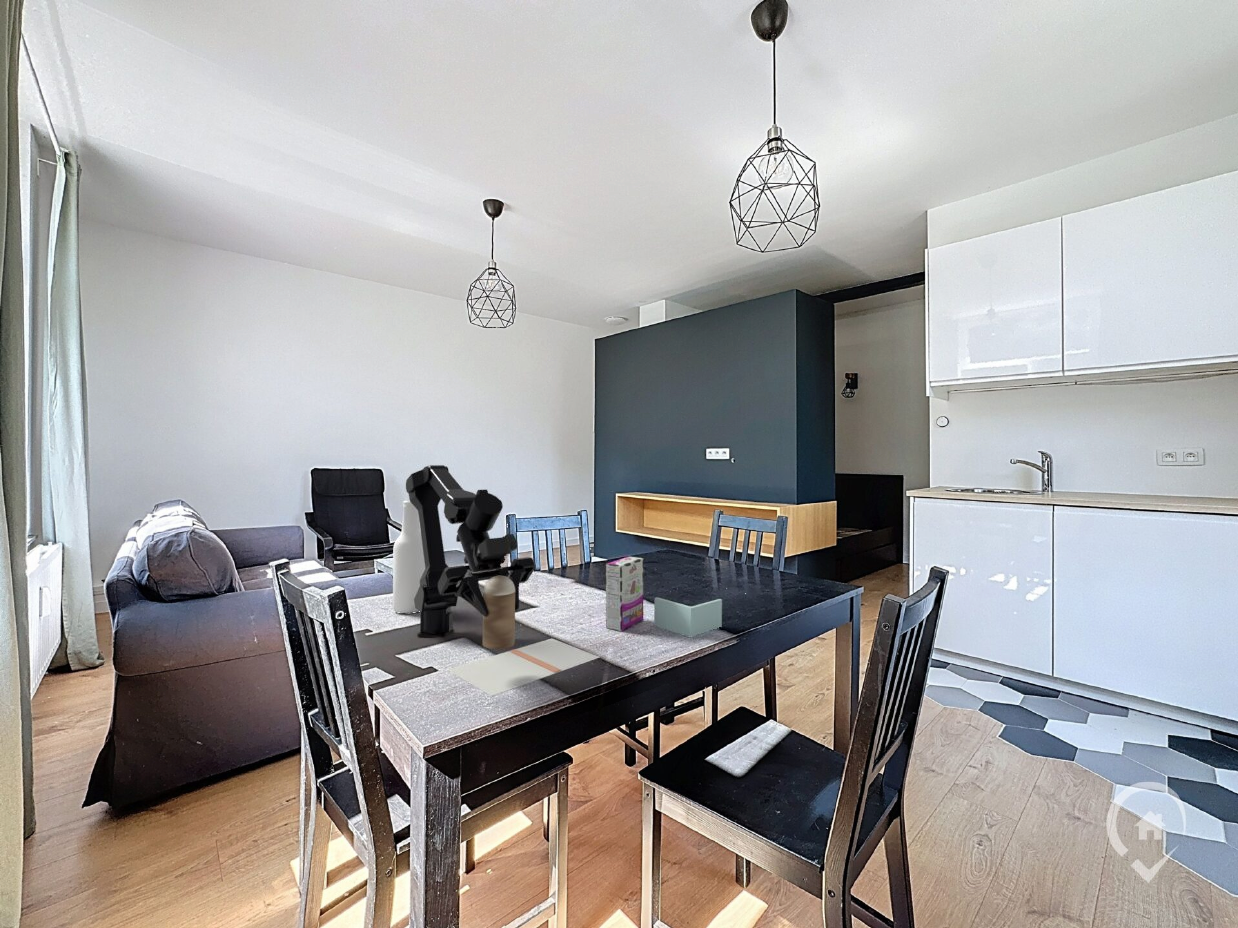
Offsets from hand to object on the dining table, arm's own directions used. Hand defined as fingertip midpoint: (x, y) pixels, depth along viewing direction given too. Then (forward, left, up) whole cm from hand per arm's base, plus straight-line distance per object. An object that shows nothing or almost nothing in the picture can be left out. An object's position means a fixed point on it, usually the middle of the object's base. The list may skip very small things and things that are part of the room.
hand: (502, 612), depth 102 cm
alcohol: (-37, +44, -13) cm, 59 cm away
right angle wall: (+38, +36, -14) cm, 54 cm away
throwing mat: (+3, +7, -13) cm, 15 cm away
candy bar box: (+22, +36, -13) cm, 44 cm away
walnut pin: (-1, +1, -6) cm, 6 cm away
